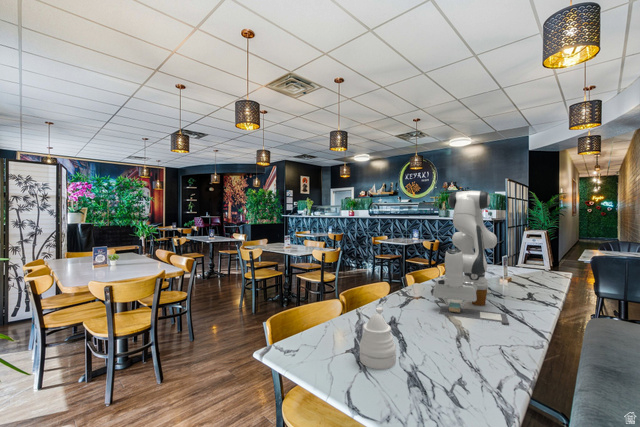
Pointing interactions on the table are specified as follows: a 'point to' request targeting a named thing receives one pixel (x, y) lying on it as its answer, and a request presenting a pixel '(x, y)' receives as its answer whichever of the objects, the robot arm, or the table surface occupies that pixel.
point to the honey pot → (377, 343)
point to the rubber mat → (476, 315)
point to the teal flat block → (454, 307)
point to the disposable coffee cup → (480, 293)
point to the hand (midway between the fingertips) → (454, 307)
